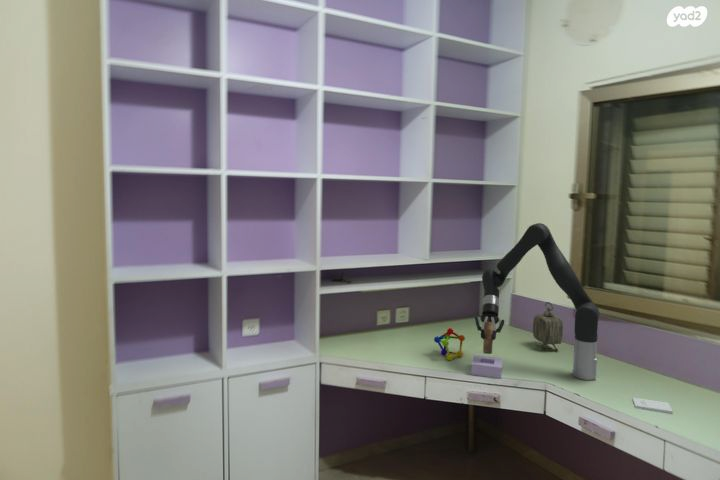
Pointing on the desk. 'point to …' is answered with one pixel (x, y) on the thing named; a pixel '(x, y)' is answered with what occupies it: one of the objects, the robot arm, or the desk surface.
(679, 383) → the desk surface
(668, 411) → the external hard drive
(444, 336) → the educational toy
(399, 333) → the desk surface
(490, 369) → the socket
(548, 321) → the tabletop clock
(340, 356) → the desk surface
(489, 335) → the dowel
